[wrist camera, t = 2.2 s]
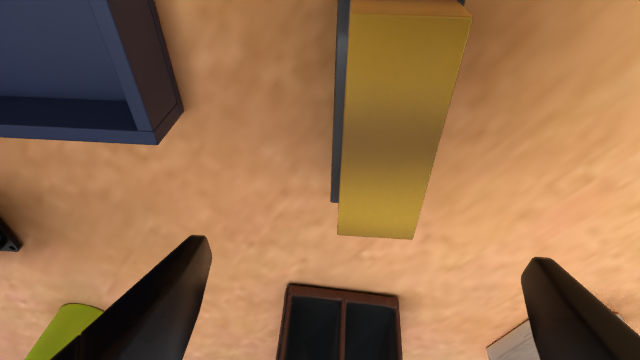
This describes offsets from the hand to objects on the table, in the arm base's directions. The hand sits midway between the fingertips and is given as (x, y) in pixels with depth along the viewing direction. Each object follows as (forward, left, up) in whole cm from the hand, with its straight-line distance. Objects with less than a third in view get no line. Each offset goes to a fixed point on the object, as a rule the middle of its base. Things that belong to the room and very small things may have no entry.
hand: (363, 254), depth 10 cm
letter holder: (-29, +1, -11) cm, 31 cm away
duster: (-1, -1, -11) cm, 11 cm away
